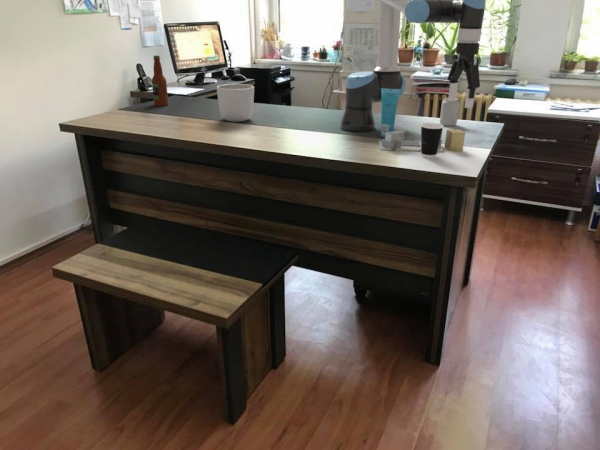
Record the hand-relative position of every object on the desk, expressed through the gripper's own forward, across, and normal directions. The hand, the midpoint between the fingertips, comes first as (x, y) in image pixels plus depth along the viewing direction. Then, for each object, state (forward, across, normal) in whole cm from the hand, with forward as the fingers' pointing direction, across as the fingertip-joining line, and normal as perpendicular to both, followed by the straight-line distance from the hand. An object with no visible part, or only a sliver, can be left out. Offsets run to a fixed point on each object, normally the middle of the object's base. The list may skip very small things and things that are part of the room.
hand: (459, 104), depth 180 cm
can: (+17, +41, -16) cm, 47 cm away
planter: (+17, +62, +79) cm, 101 cm away
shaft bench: (+17, +5, +15) cm, 23 cm away
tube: (+17, +23, +19) cm, 34 cm away
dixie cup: (+17, -8, +13) cm, 23 cm away
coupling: (+17, 0, 0) cm, 17 cm away
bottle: (+16, +104, +117) cm, 158 cm away
